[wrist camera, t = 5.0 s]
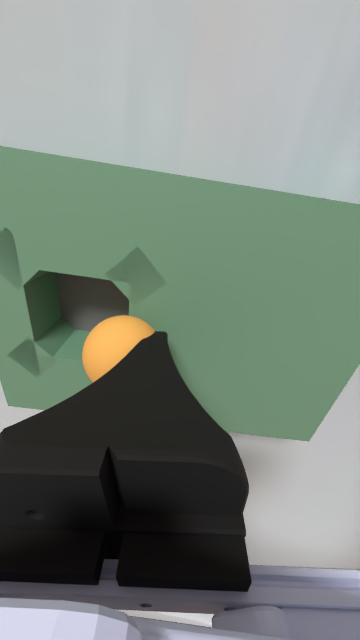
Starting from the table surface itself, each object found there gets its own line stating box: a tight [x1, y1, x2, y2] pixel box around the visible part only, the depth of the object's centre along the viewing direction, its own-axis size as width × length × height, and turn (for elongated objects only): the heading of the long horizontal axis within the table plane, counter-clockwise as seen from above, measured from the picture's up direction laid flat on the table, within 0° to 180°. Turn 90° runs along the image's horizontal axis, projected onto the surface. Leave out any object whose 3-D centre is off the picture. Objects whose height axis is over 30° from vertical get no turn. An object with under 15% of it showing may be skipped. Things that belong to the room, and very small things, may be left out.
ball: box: [82, 315, 155, 382], centre depth 11 cm, size 4×4×4 cm
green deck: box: [0, 146, 360, 441], centre depth 13 cm, size 20×14×3 cm
